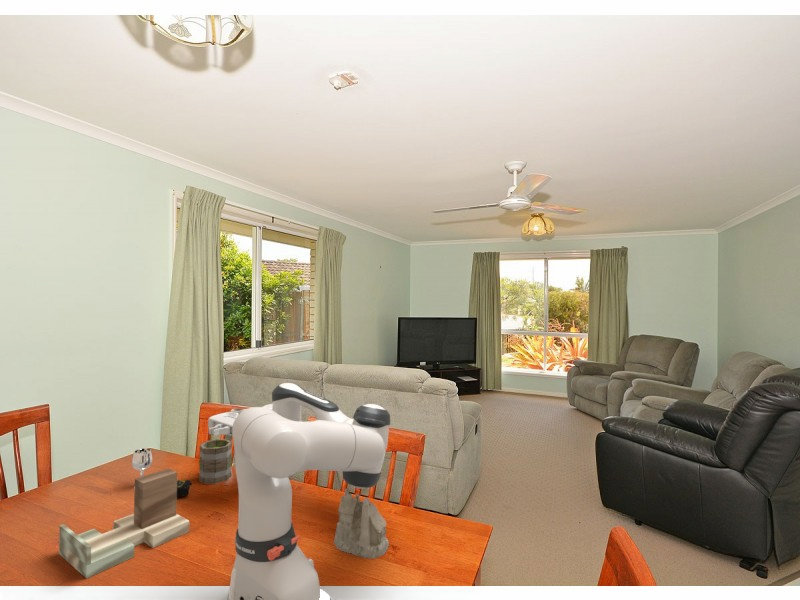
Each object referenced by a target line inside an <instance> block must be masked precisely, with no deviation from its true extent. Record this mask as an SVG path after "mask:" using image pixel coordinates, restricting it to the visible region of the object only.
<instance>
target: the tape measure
mask: <svg viewBox="0 0 800 600" xmlns="http://www.w3.org/2000/svg"><path fill="white" fill-rule="evenodd" d="M192 483H193V482H192V481H191V480H190V479H185V480H183V479H182V480H181V479H180V480H178V479H177V498H182V497H184V496H188V494H190V493H189V492H190V488H191V486H192V485H193V484H192Z"/></svg>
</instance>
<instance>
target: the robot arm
mask: <svg viewBox="0 0 800 600" xmlns="http://www.w3.org/2000/svg"><path fill="white" fill-rule="evenodd" d="M271 401H272V403H270V404H265V405H263V406H253V407H251V406H250V407H248V408H245V409H244V408H233V409H231V410H230V411H226V412H221V413H218V414H214V415H212V416H210V417H209V418H207V419H208V420H207V428H208V434H209V435H212V436H214V437H216V436H221V435H222V436H225V435H227V436H230V437H232V438H233V439H232V440H233V446H234V447H233V448H234V461H235V462H234V463H235V472H236V473H235V474H236V481H237V489H238V490H237V491H238V492H237V493H238V515H237V516H238V523H237V524H238V526H237V527H238V528H237V529H236V531H235V539H234V544H235V548H234V549H235V553H236V556H235V560H234V563H233V567H232V569H231V575H230V583H229V591H228V596H229V599H228V598H227V600H319V598H320V589H323V588H322V586H320V579H319V575H318V572H317V570H316V568H315V563H314V560H313V559H312V558H308V557H307V556H306V555H305V554H304V553H303V551H302V550H301V548H300V546H299V545H298V542H299V541H300V540H301V538H300V536H301V535H300V534H297V535H296V531H295V527H294V524H293V522H292V508H293V507H292V505H293V503H292V502H293V500H292V497H293V489H292V484H291V481H290V478H289V477H291V476H293V475H294V474H295V473H298V472H306V471H330V472H333V471H334V472H342V479H343V480H344V481H345V483H346V484H348V485H349V486H351V487H353V488H356V489H361V490H362V489H363V490H364V489H368V488H370V489H371V488H374V487H375V486H377V484H378V482H379V481H380V478H381V475H382V472H381V470H382V467H383V465H384V460H385V457H386V456H385V455H386V452H387V449H388V442H389V434H390V433H389V432H390V431H389V430H390V426H391V414H390V413H389V411H388V410H387V409H385V408H384V407H382V406H381V405H378V404H377V403H367V404H363V405H360V406H358V407H357V408H356V409H355V411H354V413H353V416H352V418H351V417H348V416H347V415H346V414H345V413H343V411H341V409H340V408H339V407H338V405H337V403H335V402H333V401H331V400H330V399H328V398H325V397H323V396H320V395H317V393H314V392H311V391H309V390H306V389H304V388H303V387H301V386H300V385H298V384H296V383H291V382H284V383H283V382H282V383H280V384H278V385H277V386H275V388H274V389H273V390H272V391H271ZM302 407H305V408H306V409H309V411H311V412H312V413H313V414H314V417H315V420H313V421H302V418H303V417H302V414H303V413H302Z"/></svg>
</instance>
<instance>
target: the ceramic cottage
mask: <svg viewBox="0 0 800 600" xmlns="http://www.w3.org/2000/svg"><path fill="white" fill-rule="evenodd" d="M354 495H355V497H353V493H351V492H350V489H349V488H345V489H344V495H340V502H339V506H338V511H337V512H338V522H337V523H336V530H335V536H334V540H333V545H334V546H335V547H336V549H338V550H339V551H340V550H341V551H340V552H342V551H344V552H343V553H346V552H347V553H346V554H350V553H352V554H351V555H353V554H354V555H353V556H357V557H360V558H364V559H368V560H370V559H376V558H377V559H378V558H380V557H382V556H384V555H385V553H387V551H388V549H389V547H388V546H390V542H389V540H388V538H387V537H386V534H387V529H386V526H387V521H386V519H385V518H384V517H383V516H382V514H381V513H380V512H379V509H378V508H377V506H376V505H375V502H371V501H370V499H369V498H368V497H365V498H364V499H363V500H360V494H359V493H356V494H354ZM386 550H387V551H386Z"/></svg>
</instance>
